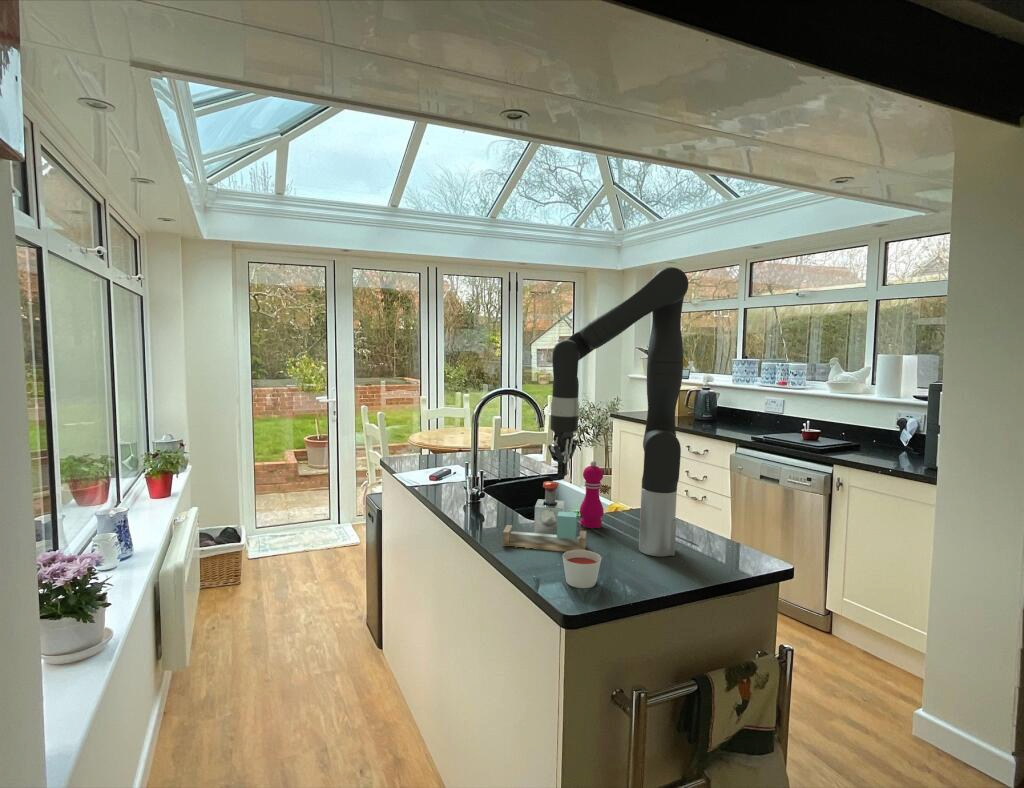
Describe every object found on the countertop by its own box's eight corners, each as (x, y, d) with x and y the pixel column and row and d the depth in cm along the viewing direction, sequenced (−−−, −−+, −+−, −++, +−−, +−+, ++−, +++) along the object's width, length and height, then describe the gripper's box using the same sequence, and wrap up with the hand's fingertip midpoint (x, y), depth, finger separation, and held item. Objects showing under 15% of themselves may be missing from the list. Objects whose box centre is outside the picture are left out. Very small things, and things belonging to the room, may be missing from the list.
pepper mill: (602, 530, 178) (605, 464, 176) (577, 528, 180) (580, 462, 178) (603, 523, 186) (606, 459, 183) (580, 520, 187) (582, 457, 185)
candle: (608, 583, 142) (609, 557, 141) (583, 594, 135) (584, 567, 135) (578, 571, 148) (579, 546, 147) (553, 582, 142) (554, 556, 141)
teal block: (576, 534, 165) (577, 512, 165) (575, 539, 161) (576, 517, 161) (558, 532, 166) (558, 511, 165) (556, 537, 162) (557, 515, 161)
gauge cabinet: (563, 526, 181) (564, 500, 180) (561, 536, 173) (562, 509, 172) (537, 524, 182) (538, 499, 181) (533, 534, 174) (534, 507, 173)
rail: (585, 545, 166) (586, 531, 166) (584, 553, 160) (585, 538, 160) (506, 538, 170) (506, 524, 169) (502, 546, 164) (502, 532, 163)
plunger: (557, 512, 179) (558, 481, 178) (556, 516, 175) (557, 485, 174) (543, 510, 180) (544, 480, 179) (541, 515, 175) (542, 484, 174)
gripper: (564, 417, 156) (562, 482, 158) (588, 412, 167) (585, 473, 169) (540, 414, 160) (538, 478, 162) (564, 409, 171) (561, 469, 173)
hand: (562, 475), depth 166 cm, fingers closed
